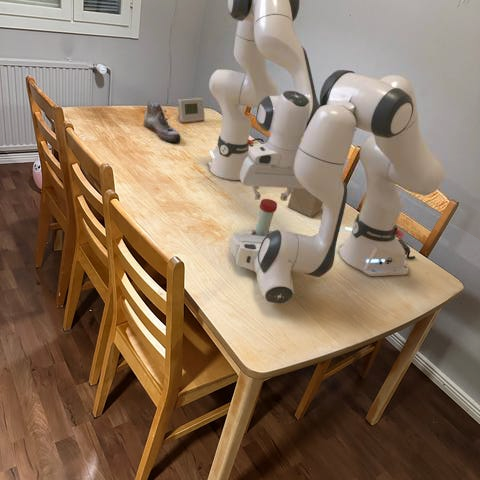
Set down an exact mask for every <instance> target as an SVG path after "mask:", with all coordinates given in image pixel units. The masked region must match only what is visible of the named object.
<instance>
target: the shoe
mask: <svg viewBox="0 0 480 480" xmlns="http://www.w3.org/2000/svg"><path fill="white" fill-rule="evenodd" d="M164 112H165V113H166V112H167V110H166V109H163V108H162V107H161V104H160V103H155V101H153V103H150V101H147V106H146V109H145V112H144V116H143V124H144V125H143V126H144V127H146V128H149V130H152V131H154V132H155V133H156V134H157V136H158V138H159V139H160V140H162V141H166V142H168V143H172V144H173V143H174V144H178V143H180V142H181V134H180V133H179V132H178V131H177V130H176V129H175V128H173V127H172V126H170V125H169V122H168V118H167V117H166V116H165V113H164Z"/></svg>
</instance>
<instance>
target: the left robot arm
mask: <svg viewBox="0 0 480 480" xmlns="http://www.w3.org/2000/svg"><path fill="white" fill-rule="evenodd" d="M227 8H228V13H229V15H230V16H231V18H232V19H233V20H236V21H237V25H236V31H235V36H234V44H233V57H234V59H235V61H236V63H237V64H238V65H239V66H241V67H242V68H243V69H244V71H245V73H244V72H241V71H237V70H232V69H224V68H223V69H221V68H219V69H216V70H215V71H214V72H213V73H212V74H211V76H210V78H209V82H208V87H209V91H210V94H211V96H213V98H214V99H215V100H216V102H217V103H218V105H219V108H220V111H221V112H220V113H221V127H220V135H219V136H218V139H217V145H216V146H215V147H214V149H213V151H212V150H210V151H209V154H210V155H211V160H209V161H208V164H207V165H208V166H209V170H210V172H211V173H212V174H213V175H215V176H216V177H218V178H220V179H225V180H229V181H240V182H241V183H242V185H243V186H244V187H251V188H252V191H253V195H252V198H253V200H255V201H260V200H261V196H262V195H261V193H260V192H259V191H258V190H259V189H260V187H261V188H284V189H286V190H285V191H284V192H280V193H281V194H280V196H279V199H280V200H281V201H282V202H286V201H288V198H289V197H290V196H291V193H292V192H293V190H294V188H302V189H305V188H303V186H302V185H301V184H300V183H299V182H298V180H297V179H296V177H295V174H294V168H293V167H294V161H295V157H296V154H297V151H298V148H299V145H300V143H301V140H302V137H303V135H304V133H305V131H306V129H307V127H308V125H309V123H310V121H311V119H312V117H313V116H314V114H315V112H316V111H317V110H318V109H319V108H320V101H319V100H318V98H317V93H316V89H315V83H314V80H313V79H314V78H313V75H312V70H311V66H310V61H309V58H308V53H307V50H306V49H305V48H304V47H303V46H302V45H301V43H300V42H299V39H298V37H297V35H296V33H295V30H294V29H295V28H294V21H296V19H297V17H298V14H299V11H300V0H227ZM266 59H267V60H269V61H270V62H273V63H275V64H277V65H279V66H280V67H281V68H283V69H284V70H286V71H287V72H288V73H289V74H290V76H291V78H292V80H293V84H294V85H293V86H294V89H295V90H285V91H282V92H281V93H280V95H279V89H278V86H277V84H276V83H275V82H274V81H273V79H272V78H271V77H270V74H269V71H268V69H267V65H266ZM241 106H243V107H248V108H252V109H256V115H255V120H256V123H257V124H258V125H259V127H260V128H261V129H262V130H263V131H264V132H268V133H269V134H270V135H269V138H268V140H267V142H265V141H264V139H263V138H259V137H256V138H253V139H252V140H251V139H249V138H250V133H251V129H252V122H251V120H250V118H249V117H248V116H247V115H246V114H245V113H244V112H243V111H242V109H241ZM257 141H261V142H262V143H261V144H257V145H254V144H253V143H254V142H257ZM264 142H265V143H264Z"/></svg>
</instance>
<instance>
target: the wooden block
mask: <svg viewBox="0 0 480 480" xmlns="http://www.w3.org/2000/svg"><path fill="white" fill-rule="evenodd" d="M323 206H324V204H323V202H322V201H321V200H319V199H318V198H317V197H315V196H314V195H312V194H311V193H309V192H308V191H307V190H306V189H302V188H294V190H293V192H292V193H291V194H290V195H289V199H288V203H287V208H290V209H291V210H294V211H296V212H298V213H301V214H302V215H305V216H307V217H309V218H312V217H313V216H314V215H316V214H317V213H318V212H319V211H321V209H322V207H323Z"/></svg>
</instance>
